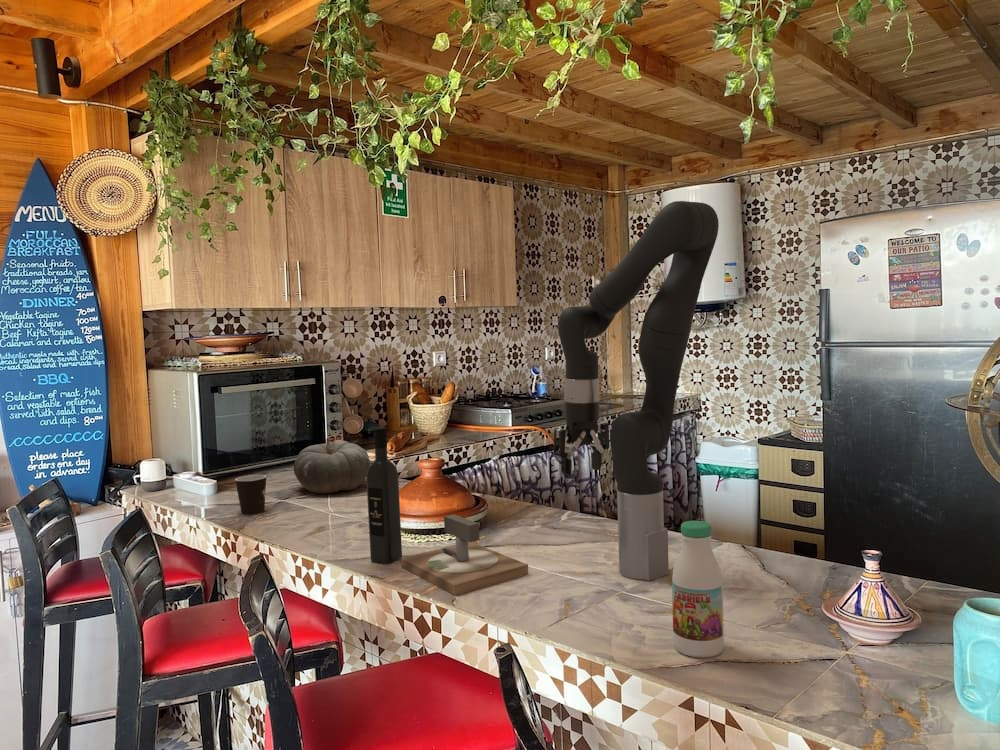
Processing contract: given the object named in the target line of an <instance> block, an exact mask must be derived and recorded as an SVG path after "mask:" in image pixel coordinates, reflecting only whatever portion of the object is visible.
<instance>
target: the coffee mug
mask: <svg viewBox="0 0 1000 750" xmlns="http://www.w3.org/2000/svg"><path fill="white" fill-rule="evenodd" d="M234 482H235V487H236V490H237V497H238V501H239V507H240V512H241V514H242V515H256V514H261V513H264V512H265V508H266V507H265V506H266V487H267V475H265V474H250V475H243V476H239V477H236V478H235V481H234Z"/></svg>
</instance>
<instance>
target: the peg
mask: <svg viewBox="0 0 1000 750" xmlns="http://www.w3.org/2000/svg"><path fill="white" fill-rule="evenodd" d="M443 525H444V533H445V534H449V535H451V536H453V537H454V538H455V545H456V552H455V551H453V550H451V549H448V548H445V547H442V548H443V551H445V552H447V553H449V554H452V555H454V556H456V557H457V560H458V561H466V560H468V559H469V550H468V542H473V543H474V542H477V541H480V523H479V522H477V521H473V520H470V519H468V518H465V517H462V516H459V515H457V514H450V515H443Z"/></svg>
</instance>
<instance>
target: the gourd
mask: <svg viewBox="0 0 1000 750" xmlns="http://www.w3.org/2000/svg"><path fill="white" fill-rule="evenodd" d="M325 441H326V443H320V444H319V443H318V444H314V445H309V446H307V447H305V448H303V449H302V450H301V451H299V453H298V455H297V457H296V459H295V461H294V463H293V464H294V465H293V472H294V475H295V478H296V479H297V480H298V482H299V483H300V485H301V486H302V487H303V488H305V490H307V491H309V492H311V493H316V494H321V495H322V494H323V495H324V494H333V493H338V492H339V491H344V492H345V491H346V492H350V491H353V490H355V489H357V488H358V487H359V486H360V485H361V484H362V483H363V482H364V480H365V479H366V476H367V470H368V468H369V466H370V465H371V464H372V462H371V460H370V458H369V454H368V452H367V450H366V449H364V448H363V447H361V446H359V444H356V443H350V442H348V441H347V440H342V439H336V440H334V441H333V442H332V441H330V439H329V437H326V439H325Z"/></svg>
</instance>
